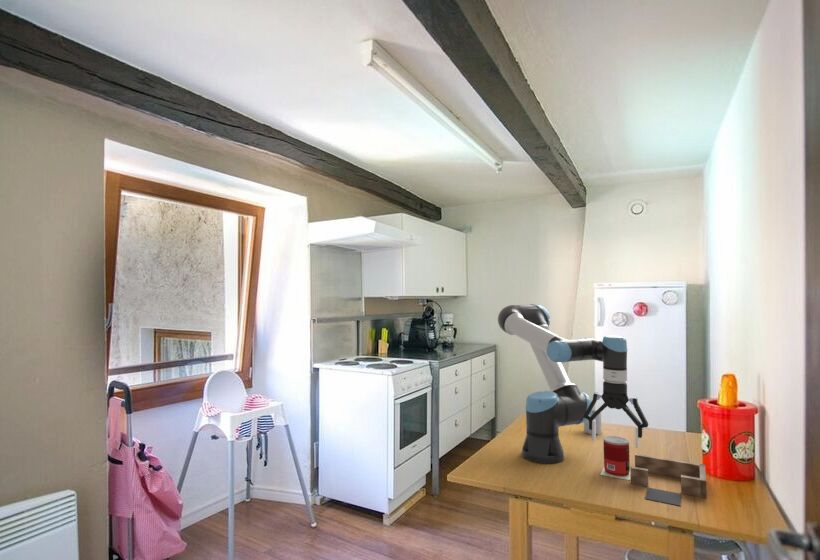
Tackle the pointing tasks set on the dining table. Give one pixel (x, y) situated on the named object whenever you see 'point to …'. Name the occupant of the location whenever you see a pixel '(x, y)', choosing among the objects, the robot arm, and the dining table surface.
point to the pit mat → (663, 496)
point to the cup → (598, 424)
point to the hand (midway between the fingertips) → (615, 443)
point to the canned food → (616, 456)
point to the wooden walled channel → (670, 473)
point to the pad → (615, 476)
